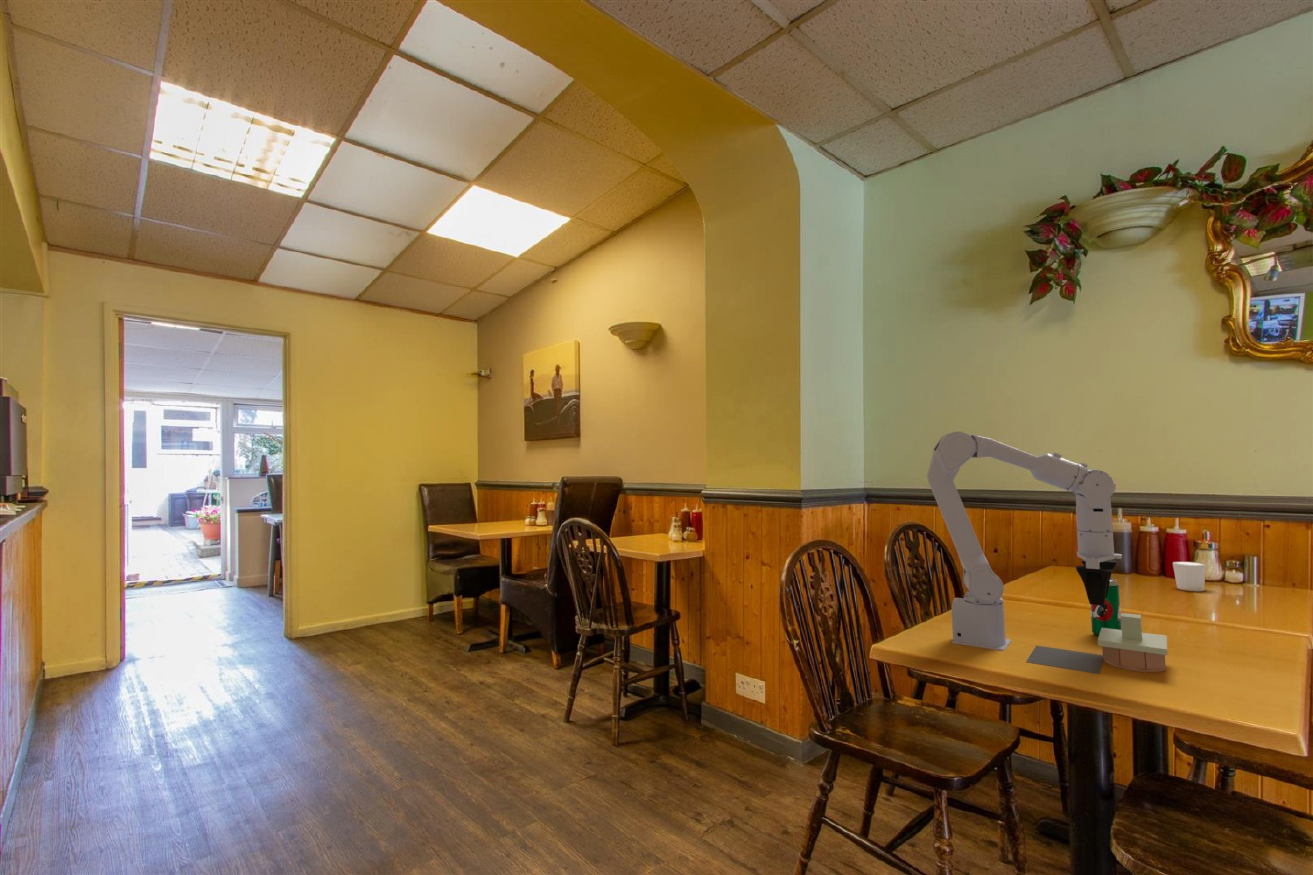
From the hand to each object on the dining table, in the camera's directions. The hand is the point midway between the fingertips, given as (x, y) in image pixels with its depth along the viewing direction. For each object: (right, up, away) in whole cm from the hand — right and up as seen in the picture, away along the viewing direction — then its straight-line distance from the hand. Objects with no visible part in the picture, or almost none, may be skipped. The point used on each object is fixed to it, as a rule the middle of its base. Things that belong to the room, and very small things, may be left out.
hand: (1098, 600), depth 118 cm
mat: (-10, -10, -5) cm, 15 cm away
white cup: (+60, -10, +48) cm, 77 cm away
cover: (0, -6, -8) cm, 10 cm away
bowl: (0, -10, -8) cm, 13 cm away
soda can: (+8, -10, +9) cm, 16 cm away
